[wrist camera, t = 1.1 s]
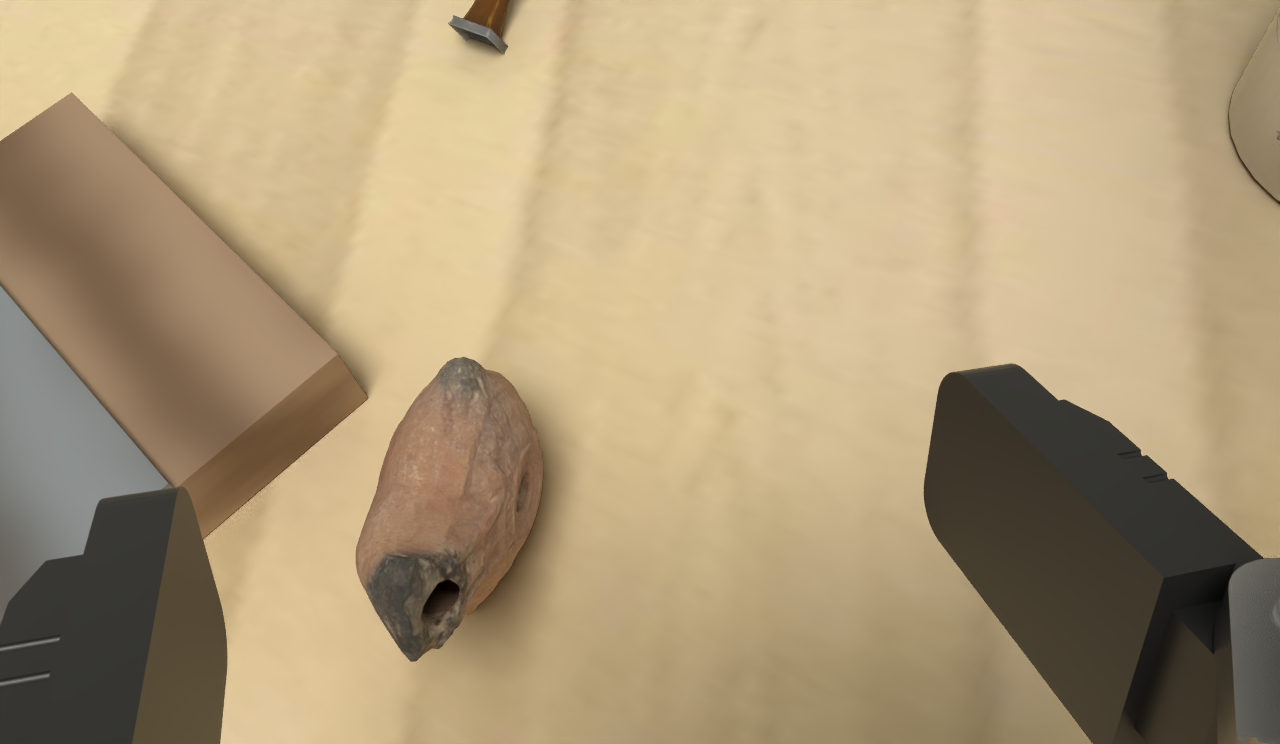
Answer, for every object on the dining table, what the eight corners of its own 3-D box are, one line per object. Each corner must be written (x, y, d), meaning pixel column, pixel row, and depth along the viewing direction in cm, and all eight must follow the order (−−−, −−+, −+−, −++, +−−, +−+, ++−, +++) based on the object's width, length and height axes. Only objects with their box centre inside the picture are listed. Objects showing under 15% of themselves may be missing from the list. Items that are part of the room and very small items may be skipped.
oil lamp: (535, 718, 30) (472, 646, 23) (395, 711, 31) (292, 639, 24) (564, 427, 35) (518, 293, 28) (440, 425, 35) (364, 292, 28)
